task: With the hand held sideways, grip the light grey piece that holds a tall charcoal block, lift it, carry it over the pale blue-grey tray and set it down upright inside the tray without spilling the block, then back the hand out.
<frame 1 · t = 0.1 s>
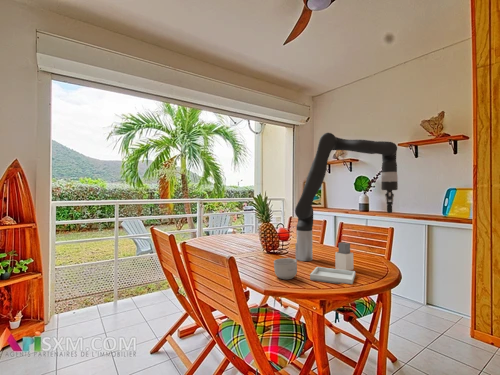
hand: (389, 212, 141), 29 cm above the table, tool pointing down, fingers open, 8 cm apart
teacup: (286, 277, 128), on the table
tray: (333, 278, 125), on the table
block: (344, 268, 138), point 1 cm above the table, touching light grey piece
light grey piece: (344, 270, 138), on the table, touching block
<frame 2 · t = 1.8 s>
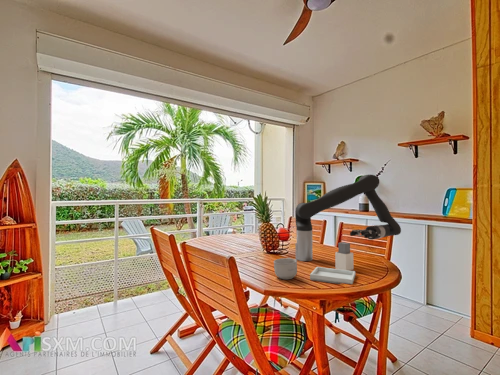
hand: (357, 234, 145), 17 cm above the table, tool horizontal, fingers open, 8 cm apart
nothing on the table moved.
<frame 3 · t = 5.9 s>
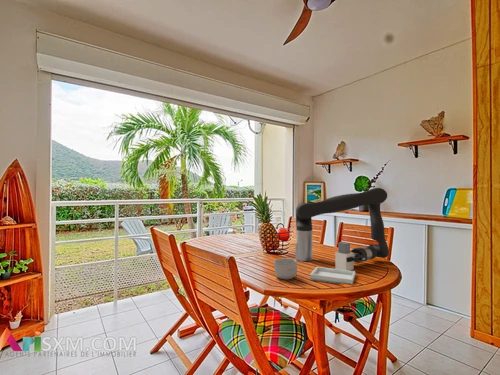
hand: (341, 258, 137), 6 cm above the table, tool horizontal, fingers closed on light grey piece, 6 cm apart
light grey piece: (344, 270, 138), on the table, touching block, gripper
everything else where it was.
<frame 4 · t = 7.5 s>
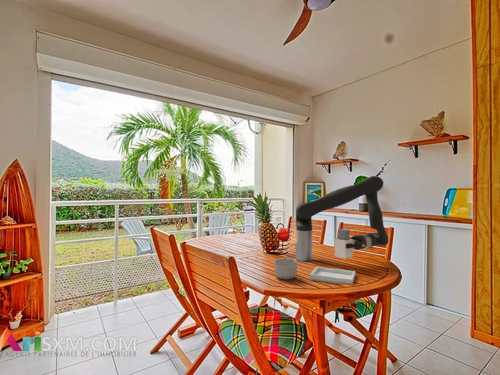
hand: (340, 245, 137), 13 cm above the table, tool horizontal, fingers closed on light grey piece, 6 cm apart
block: (343, 255, 138), point 8 cm above the table, touching light grey piece
light grey piece: (343, 256, 138), point 7 cm above the table, touching block, gripper
everything else where it was.
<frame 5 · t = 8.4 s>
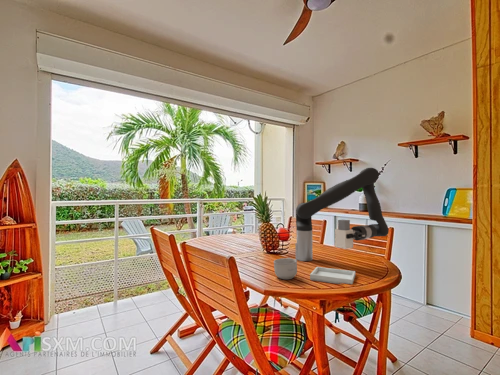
hand: (341, 235, 137), 18 cm above the table, tool horizontal, fingers closed on light grey piece, 6 cm apart
block: (344, 245, 138), point 12 cm above the table, touching light grey piece
light grey piece: (344, 247, 138), point 12 cm above the table, touching block, gripper
everything else where it was.
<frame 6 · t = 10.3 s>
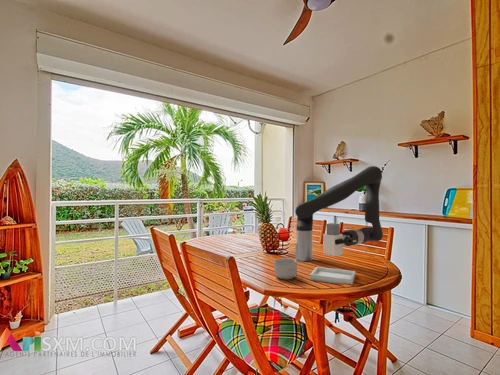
hand: (329, 241, 124), 17 cm above the table, tool horizontal, fingers closed on light grey piece, 6 cm apart
block: (333, 252, 125), point 12 cm above the table, touching light grey piece
light grey piece: (333, 253, 125), point 11 cm above the table, touching block, gripper
everything else where it was.
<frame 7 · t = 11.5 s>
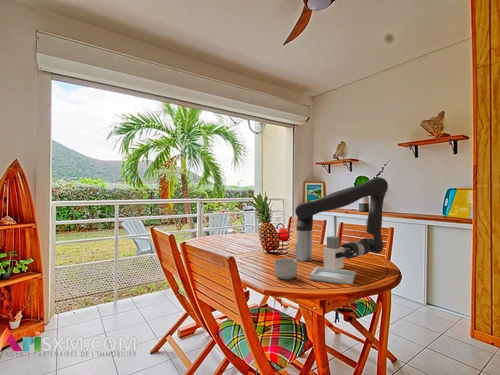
hand: (330, 254, 124), 11 cm above the table, tool horizontal, fingers closed on light grey piece, 6 cm apart
block: (333, 265, 125), point 6 cm above the table, touching light grey piece
light grey piece: (333, 267, 125), point 5 cm above the table, touching block, gripper
everything else where it was.
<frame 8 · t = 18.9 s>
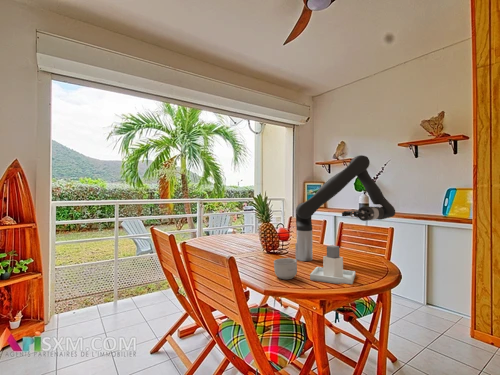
hand: (349, 214, 139), 28 cm above the table, tool horizontal, fingers open, 8 cm apart
block: (333, 274, 125), point 2 cm above the table, touching light grey piece
light grey piece: (333, 276, 125), point 1 cm above the table, touching block, tray
everything else where it was.
at the end: light grey piece inside the target area (0.1 cm from its centre), point 0.8 cm above the table; light grey piece tilted 0°; block 0.0 cm off-centre on the light grey piece, point 0.8 cm above the light grey piece's base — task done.
